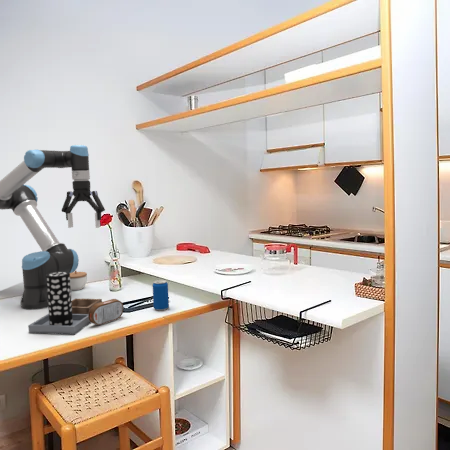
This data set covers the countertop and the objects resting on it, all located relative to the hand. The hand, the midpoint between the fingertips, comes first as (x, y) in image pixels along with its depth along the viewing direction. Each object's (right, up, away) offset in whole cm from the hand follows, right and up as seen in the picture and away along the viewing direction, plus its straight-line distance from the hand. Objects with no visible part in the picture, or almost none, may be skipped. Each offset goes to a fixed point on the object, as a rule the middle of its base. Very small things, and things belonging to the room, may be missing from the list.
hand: (84, 227), depth 193 cm
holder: (+4, -36, -15) cm, 40 cm away
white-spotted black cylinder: (+1, -37, -30) cm, 48 cm away
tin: (+17, -37, -25) cm, 48 cm away
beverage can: (+36, -35, -10) cm, 52 cm away
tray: (+1, -38, -30) cm, 48 cm away
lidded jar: (-13, -32, +27) cm, 43 cm away
